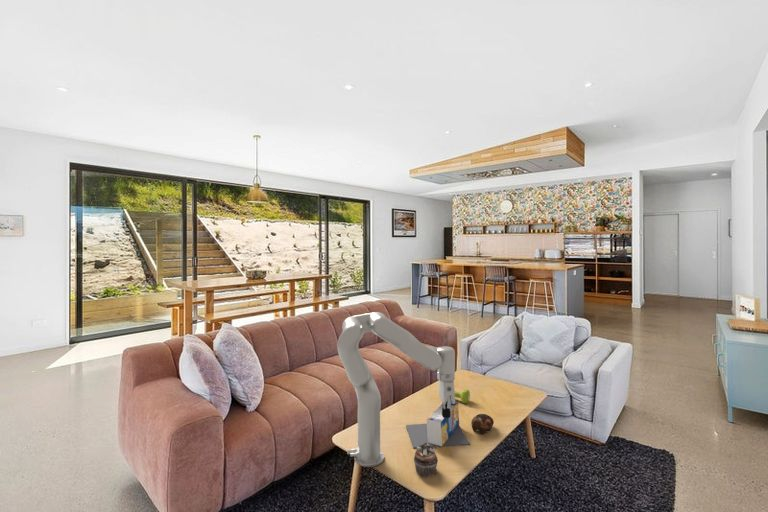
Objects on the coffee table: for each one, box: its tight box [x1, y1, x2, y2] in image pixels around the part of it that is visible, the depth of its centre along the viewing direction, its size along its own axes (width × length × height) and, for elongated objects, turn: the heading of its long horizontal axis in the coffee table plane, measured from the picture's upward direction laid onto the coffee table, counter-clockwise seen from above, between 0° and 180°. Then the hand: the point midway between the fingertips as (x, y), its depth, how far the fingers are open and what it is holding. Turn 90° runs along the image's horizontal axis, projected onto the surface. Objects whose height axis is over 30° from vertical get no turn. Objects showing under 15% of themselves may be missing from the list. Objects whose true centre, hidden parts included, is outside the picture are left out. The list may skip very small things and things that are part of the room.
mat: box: [405, 423, 471, 450], centre depth 177 cm, size 26×20×1 cm
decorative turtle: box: [470, 413, 495, 435], centre depth 181 cm, size 10×15×8 cm, turn 138°
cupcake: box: [413, 443, 439, 478], centre depth 150 cm, size 10×10×10 cm
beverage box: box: [426, 401, 460, 446], centre depth 177 cm, size 7×11×22 cm
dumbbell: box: [455, 388, 471, 405], centre depth 215 cm, size 16×8×7 cm, turn 60°
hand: (445, 416), depth 164 cm, fingers closed
